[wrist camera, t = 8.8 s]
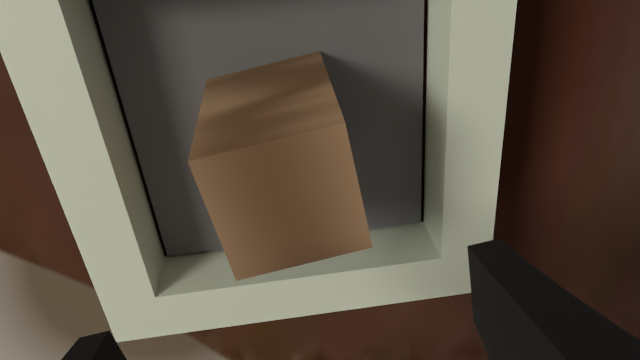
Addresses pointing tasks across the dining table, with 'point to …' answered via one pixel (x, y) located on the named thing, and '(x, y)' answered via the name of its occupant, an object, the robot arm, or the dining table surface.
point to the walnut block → (278, 167)
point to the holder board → (180, 122)
